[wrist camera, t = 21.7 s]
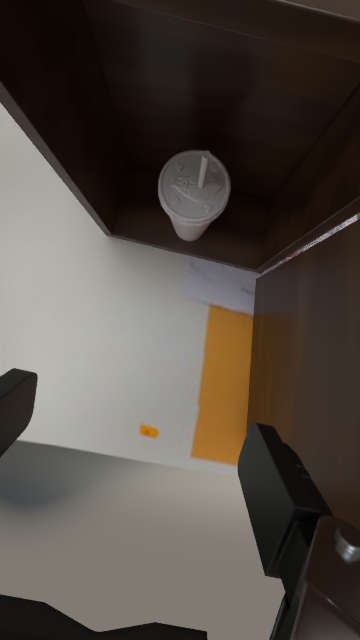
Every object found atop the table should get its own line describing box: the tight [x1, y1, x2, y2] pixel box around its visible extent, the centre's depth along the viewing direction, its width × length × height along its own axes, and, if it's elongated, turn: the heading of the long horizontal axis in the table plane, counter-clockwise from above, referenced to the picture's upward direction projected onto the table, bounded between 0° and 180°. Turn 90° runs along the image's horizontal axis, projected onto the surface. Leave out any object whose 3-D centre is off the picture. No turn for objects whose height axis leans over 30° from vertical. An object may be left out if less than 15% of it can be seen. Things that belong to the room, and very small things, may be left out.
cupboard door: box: [247, 219, 360, 531], centre depth 20 cm, size 6×20×27 cm, turn 176°
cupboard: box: [0, 0, 360, 273], centre depth 21 cm, size 10×20×27 cm, turn 76°
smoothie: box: [158, 150, 231, 241], centre depth 26 cm, size 6×6×14 cm
